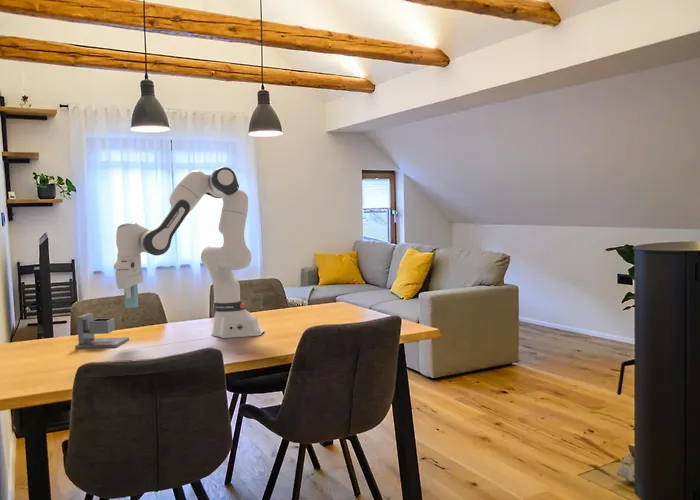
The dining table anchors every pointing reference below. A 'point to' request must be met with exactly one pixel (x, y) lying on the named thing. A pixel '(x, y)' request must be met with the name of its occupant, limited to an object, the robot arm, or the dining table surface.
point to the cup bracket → (97, 332)
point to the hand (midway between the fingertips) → (131, 296)
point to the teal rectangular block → (132, 298)
